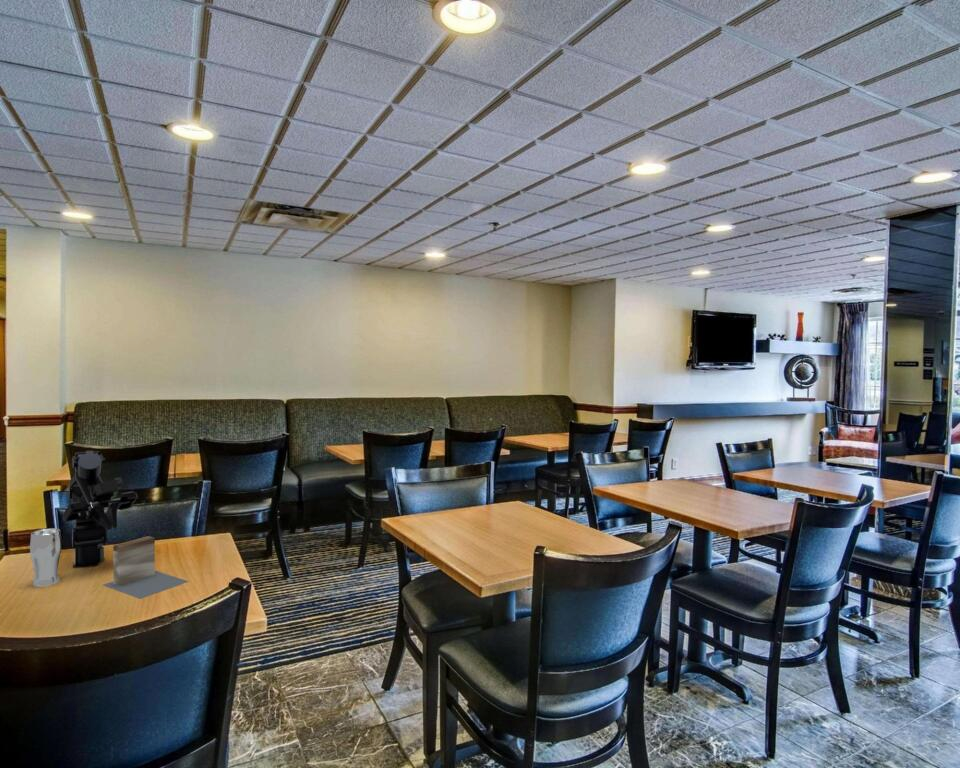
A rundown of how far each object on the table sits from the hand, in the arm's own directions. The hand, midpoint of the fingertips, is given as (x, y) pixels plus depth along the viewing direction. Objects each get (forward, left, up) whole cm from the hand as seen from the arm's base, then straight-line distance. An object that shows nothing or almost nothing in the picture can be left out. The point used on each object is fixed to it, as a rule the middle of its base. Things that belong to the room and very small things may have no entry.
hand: (113, 528), depth 170 cm
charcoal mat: (+12, -10, -14) cm, 21 cm away
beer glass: (-15, -6, -14) cm, 21 cm away
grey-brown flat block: (+8, -7, -13) cm, 17 cm away
